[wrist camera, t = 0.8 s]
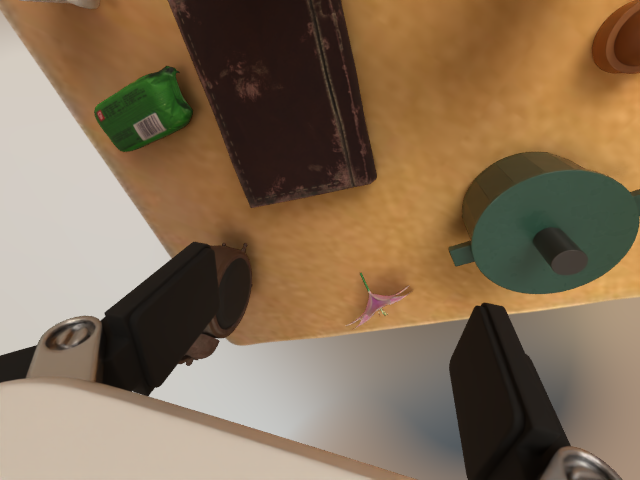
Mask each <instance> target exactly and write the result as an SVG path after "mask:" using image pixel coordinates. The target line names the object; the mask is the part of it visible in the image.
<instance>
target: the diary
mask: <svg viewBox="0 0 640 480" xmlns="http://www.w3.org/2000/svg"><path fill="white" fill-rule="evenodd" d="M168 2H169V4H170V7H171V9H172V12H173V14H174V17H175V19H176V22H177V24H178V27H179V29H180V32H181V34H182V37H183V39H184V42H185V44H186V46H187V49H188V51H189V54H190V56H191V59H192V61H193V64H194V66H195V69H196V71H197V74H198V76H199V78H200V81H201V83H202V86H203V88H204V91H205V93H206V96H207V98H208V100H209V103H210V105H211V108H212V110H213V113H214V115H215V118H216V121H217V123H218V126H219V129H220V131H221V134H222V137H223V139H224V142H225V145H226V148H227V150H228V153H229V156H230V159H231V161H232V164H233V166H234V169H235V171H236V173H237V176H238V178H239V181H240V183H241V186H242V188H243V190H244V193H245V195H246V198H247V200H248V202H249V205H250V207H251V208H254V207H259V206H264V205H270V204H275V203H280V202H285V201H290V200H295V199H301V198H306V197H311V196H315V195H320V194H325V193H329V192H334V191H339V190H343V189H348V188H352V187H357V186H362V185H368V184H371V183H372V182H373V181H374V180H376V178H377V173H376V169H375V164H374V159H373V155H372V150H371V146H370V141H369V137H368V132H367V127H366V123H365V117H364V112H363V106H362V101H361V95H360V90H359V84H358V79H357V73H356V68H355V63H354V59H353V54H352V50H351V45H350V41H349V36H348V31H347V27H346V22H345V18H344V13H343V9H342V4H341V0H168Z"/></svg>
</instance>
